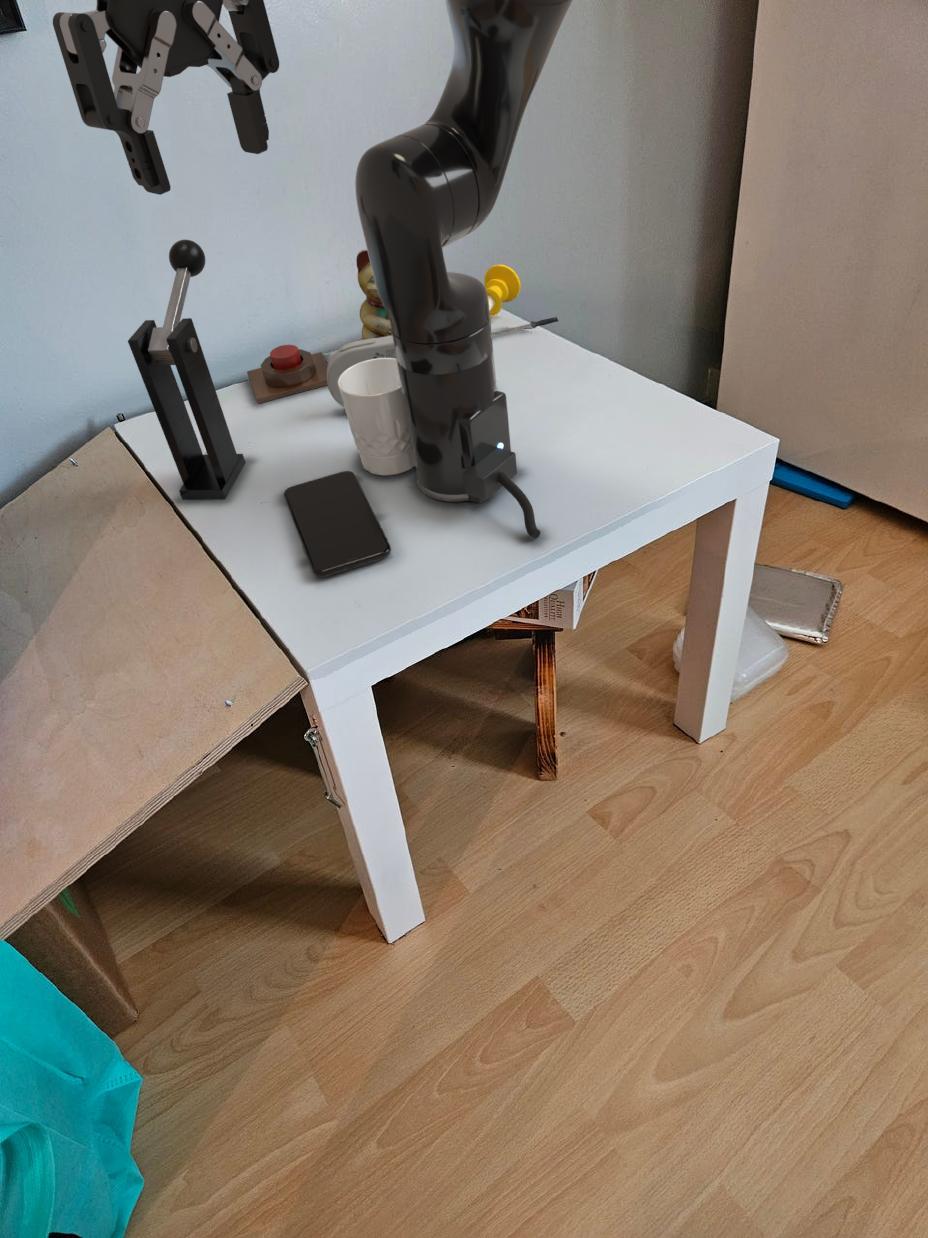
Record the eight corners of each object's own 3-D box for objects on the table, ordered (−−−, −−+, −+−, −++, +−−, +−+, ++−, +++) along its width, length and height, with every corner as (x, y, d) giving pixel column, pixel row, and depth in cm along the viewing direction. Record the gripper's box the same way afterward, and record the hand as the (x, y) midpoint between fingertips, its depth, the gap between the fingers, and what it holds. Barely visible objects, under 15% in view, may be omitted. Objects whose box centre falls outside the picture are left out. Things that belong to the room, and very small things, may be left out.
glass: (439, 444, 101) (427, 361, 94) (407, 484, 96) (391, 399, 89) (378, 434, 104) (361, 353, 97) (343, 473, 99) (323, 390, 92)
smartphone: (282, 495, 97) (315, 582, 85) (280, 488, 96) (313, 575, 85) (353, 474, 98) (395, 557, 87) (352, 467, 97) (393, 550, 86)
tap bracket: (200, 463, 103) (145, 314, 91) (250, 462, 102) (201, 311, 90) (177, 499, 99) (116, 347, 86) (229, 499, 97) (175, 344, 85)
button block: (322, 356, 120) (318, 338, 118) (336, 382, 114) (332, 364, 112) (248, 376, 118) (242, 358, 116) (258, 403, 112) (253, 385, 110)
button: (298, 354, 116) (295, 341, 115) (304, 366, 113) (300, 353, 112) (271, 361, 115) (267, 349, 114) (276, 373, 113) (272, 360, 112)
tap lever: (182, 258, 96) (166, 232, 93) (214, 256, 96) (199, 230, 92) (155, 369, 91) (137, 346, 88) (188, 368, 90) (171, 345, 87)
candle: (528, 284, 122) (484, 345, 113) (505, 307, 126) (461, 367, 117) (500, 256, 121) (453, 315, 112) (478, 280, 125) (431, 339, 116)
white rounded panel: (335, 418, 107) (319, 353, 102) (334, 409, 109) (319, 344, 103) (497, 390, 108) (490, 324, 102) (494, 381, 109) (487, 316, 104)
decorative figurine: (380, 378, 113) (356, 258, 103) (355, 354, 118) (331, 237, 108) (449, 355, 115) (433, 235, 105) (422, 332, 121) (404, 216, 111)
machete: (457, 349, 118) (457, 346, 118) (454, 342, 119) (454, 339, 118) (559, 323, 119) (559, 320, 119) (555, 316, 120) (555, 313, 120)
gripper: (48, -118, 45) (157, 215, 57) (260, -157, 53) (320, 144, 64) (-25, -111, 49) (90, 199, 60) (182, -149, 57) (251, 133, 68)
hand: (208, 170), depth 62 cm, fingers open, 8 cm apart
